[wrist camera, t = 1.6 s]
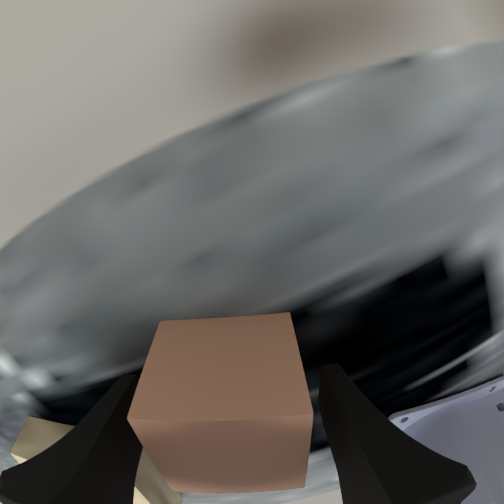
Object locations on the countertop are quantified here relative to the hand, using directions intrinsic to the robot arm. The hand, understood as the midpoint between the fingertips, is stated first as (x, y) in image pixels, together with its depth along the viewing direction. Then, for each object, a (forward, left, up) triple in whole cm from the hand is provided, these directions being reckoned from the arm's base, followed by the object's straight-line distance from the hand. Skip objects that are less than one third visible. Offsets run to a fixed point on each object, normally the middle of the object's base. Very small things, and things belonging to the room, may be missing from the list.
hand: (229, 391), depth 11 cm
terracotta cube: (0, 0, -2) cm, 2 cm away
